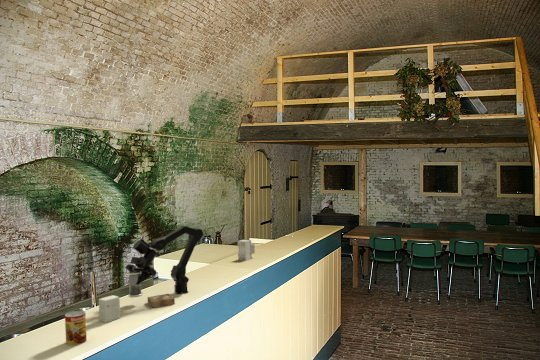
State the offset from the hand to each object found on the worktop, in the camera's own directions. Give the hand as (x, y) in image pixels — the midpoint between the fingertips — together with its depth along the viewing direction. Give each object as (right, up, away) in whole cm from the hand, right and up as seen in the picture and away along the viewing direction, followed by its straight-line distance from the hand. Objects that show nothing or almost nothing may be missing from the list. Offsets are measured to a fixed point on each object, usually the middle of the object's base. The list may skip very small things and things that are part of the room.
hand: (132, 283), depth 235 cm
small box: (-4, -12, -22) cm, 26 cm away
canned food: (-8, -13, -50) cm, 53 cm away
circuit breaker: (+55, -8, +120) cm, 132 cm away
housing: (+1, -7, +1) cm, 7 cm away
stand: (+15, -11, +2) cm, 18 cm away
